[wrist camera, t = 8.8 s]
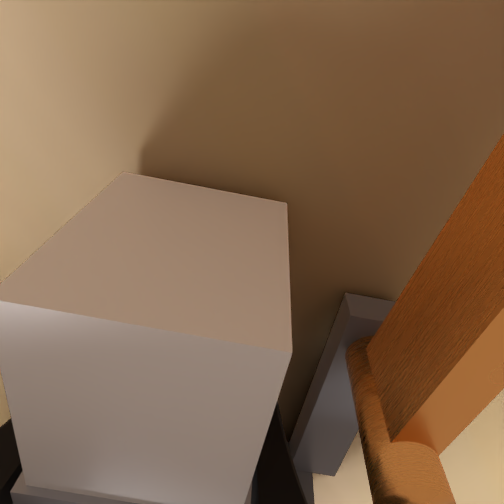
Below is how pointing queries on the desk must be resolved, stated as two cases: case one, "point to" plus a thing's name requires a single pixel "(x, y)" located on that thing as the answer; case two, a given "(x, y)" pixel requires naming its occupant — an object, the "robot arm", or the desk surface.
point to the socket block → (333, 394)
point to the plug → (148, 346)
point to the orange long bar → (435, 351)
